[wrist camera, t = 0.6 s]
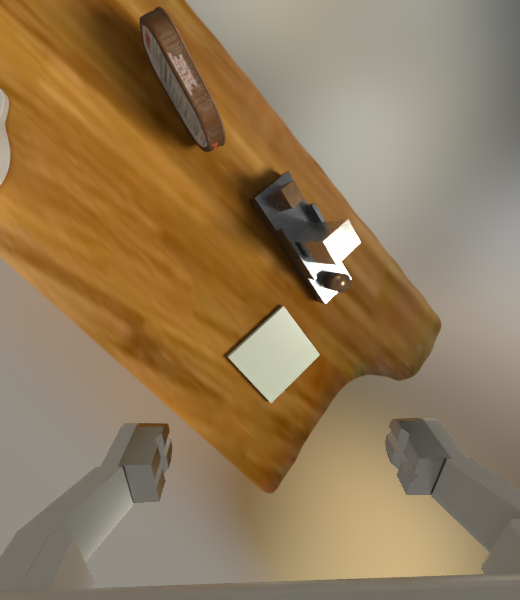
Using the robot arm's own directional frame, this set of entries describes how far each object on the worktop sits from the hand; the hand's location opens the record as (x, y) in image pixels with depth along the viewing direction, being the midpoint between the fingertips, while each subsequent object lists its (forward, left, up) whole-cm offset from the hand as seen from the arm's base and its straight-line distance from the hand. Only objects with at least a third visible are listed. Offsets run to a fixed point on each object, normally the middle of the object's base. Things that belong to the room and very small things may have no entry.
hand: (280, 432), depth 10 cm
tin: (-19, +17, -36) cm, 45 cm away
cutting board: (+20, +5, -36) cm, 42 cm away
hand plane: (+7, +21, -36) cm, 42 cm away
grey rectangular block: (+7, +21, -33) cm, 40 cm away
